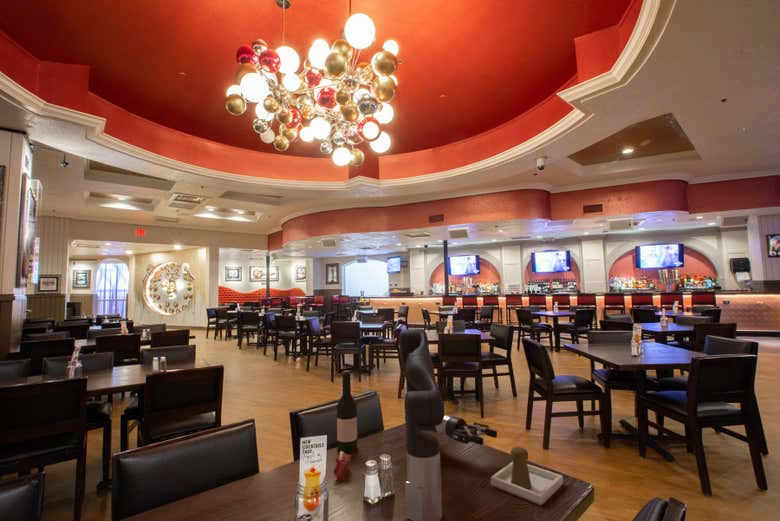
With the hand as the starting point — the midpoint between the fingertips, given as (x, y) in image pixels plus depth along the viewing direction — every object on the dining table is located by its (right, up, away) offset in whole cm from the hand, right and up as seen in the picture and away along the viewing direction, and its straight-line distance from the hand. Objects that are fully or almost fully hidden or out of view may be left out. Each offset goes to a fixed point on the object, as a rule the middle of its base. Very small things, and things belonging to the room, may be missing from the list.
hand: (489, 437), depth 124 cm
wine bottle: (-51, -14, +21) cm, 56 cm away
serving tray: (+9, -10, -9) cm, 17 cm away
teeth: (-54, -13, +1) cm, 56 cm away
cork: (+7, -10, -10) cm, 16 cm away
